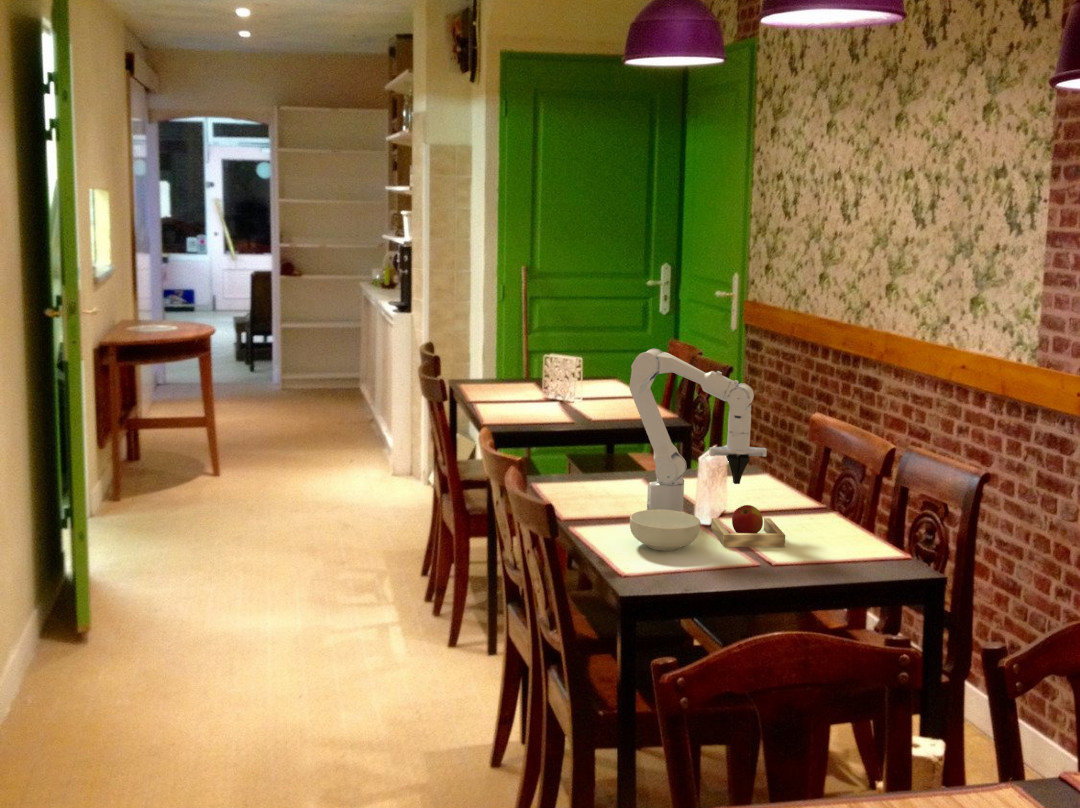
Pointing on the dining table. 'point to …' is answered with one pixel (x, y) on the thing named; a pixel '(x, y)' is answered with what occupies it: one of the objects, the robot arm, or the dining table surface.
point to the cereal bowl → (664, 528)
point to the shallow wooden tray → (749, 536)
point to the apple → (747, 519)
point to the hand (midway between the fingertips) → (736, 483)
